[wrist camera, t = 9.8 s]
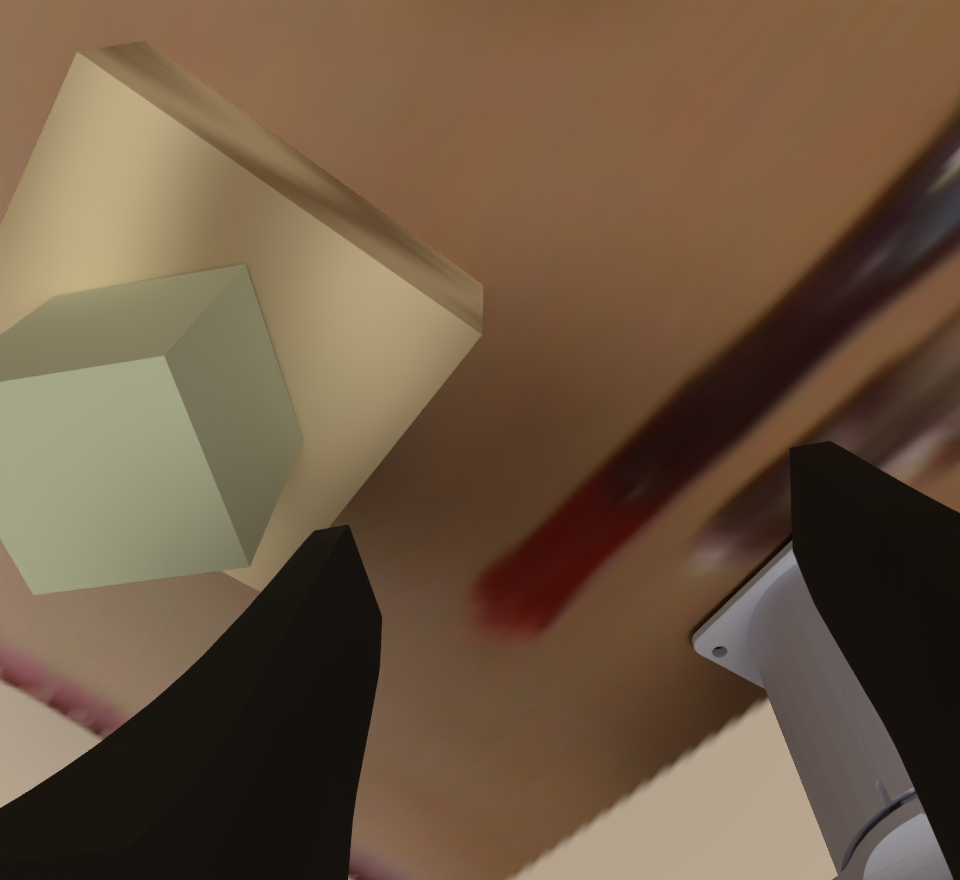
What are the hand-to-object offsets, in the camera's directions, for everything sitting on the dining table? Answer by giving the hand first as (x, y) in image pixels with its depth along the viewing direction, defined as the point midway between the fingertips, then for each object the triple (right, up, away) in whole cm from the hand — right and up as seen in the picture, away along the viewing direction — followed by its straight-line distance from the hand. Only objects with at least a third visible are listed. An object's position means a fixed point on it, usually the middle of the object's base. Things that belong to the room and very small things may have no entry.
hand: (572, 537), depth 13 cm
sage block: (-9, +3, +6) cm, 11 cm away
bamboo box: (-8, +5, +10) cm, 14 cm away
